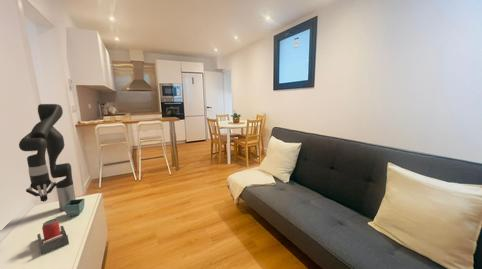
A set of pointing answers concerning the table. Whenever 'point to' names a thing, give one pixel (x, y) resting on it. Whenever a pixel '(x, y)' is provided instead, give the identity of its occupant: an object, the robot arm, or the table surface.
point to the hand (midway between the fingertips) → (44, 201)
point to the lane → (53, 243)
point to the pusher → (52, 239)
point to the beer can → (51, 229)
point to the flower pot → (74, 207)
